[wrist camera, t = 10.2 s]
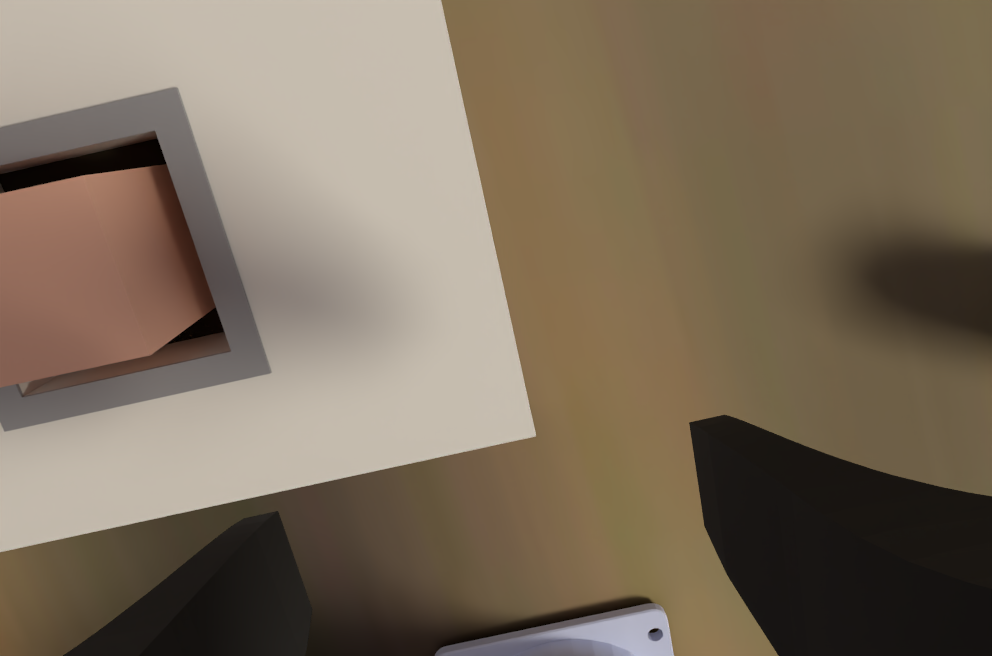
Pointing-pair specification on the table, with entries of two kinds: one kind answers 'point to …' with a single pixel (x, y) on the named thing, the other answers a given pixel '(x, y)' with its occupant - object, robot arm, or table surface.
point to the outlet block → (264, 255)
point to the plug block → (94, 273)
